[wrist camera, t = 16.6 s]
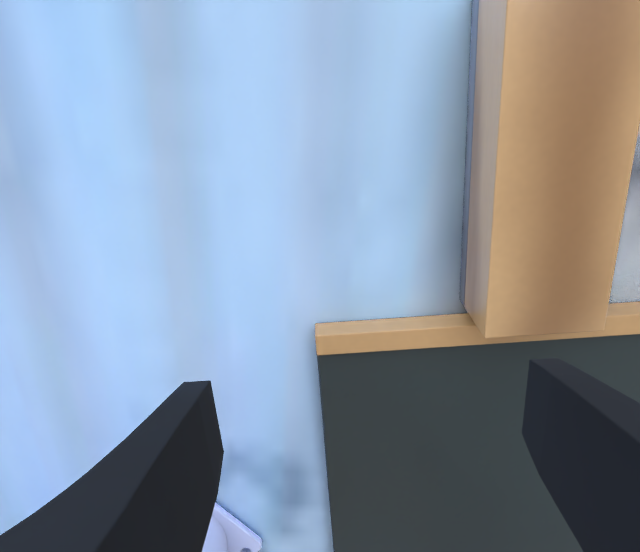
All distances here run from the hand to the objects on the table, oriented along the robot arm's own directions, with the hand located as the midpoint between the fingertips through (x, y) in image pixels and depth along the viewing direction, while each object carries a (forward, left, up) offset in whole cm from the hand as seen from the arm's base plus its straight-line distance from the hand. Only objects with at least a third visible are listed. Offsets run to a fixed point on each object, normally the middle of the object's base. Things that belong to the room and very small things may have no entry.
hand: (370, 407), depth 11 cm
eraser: (+8, -2, -10) cm, 13 cm away
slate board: (-3, -18, -10) cm, 21 cm away
